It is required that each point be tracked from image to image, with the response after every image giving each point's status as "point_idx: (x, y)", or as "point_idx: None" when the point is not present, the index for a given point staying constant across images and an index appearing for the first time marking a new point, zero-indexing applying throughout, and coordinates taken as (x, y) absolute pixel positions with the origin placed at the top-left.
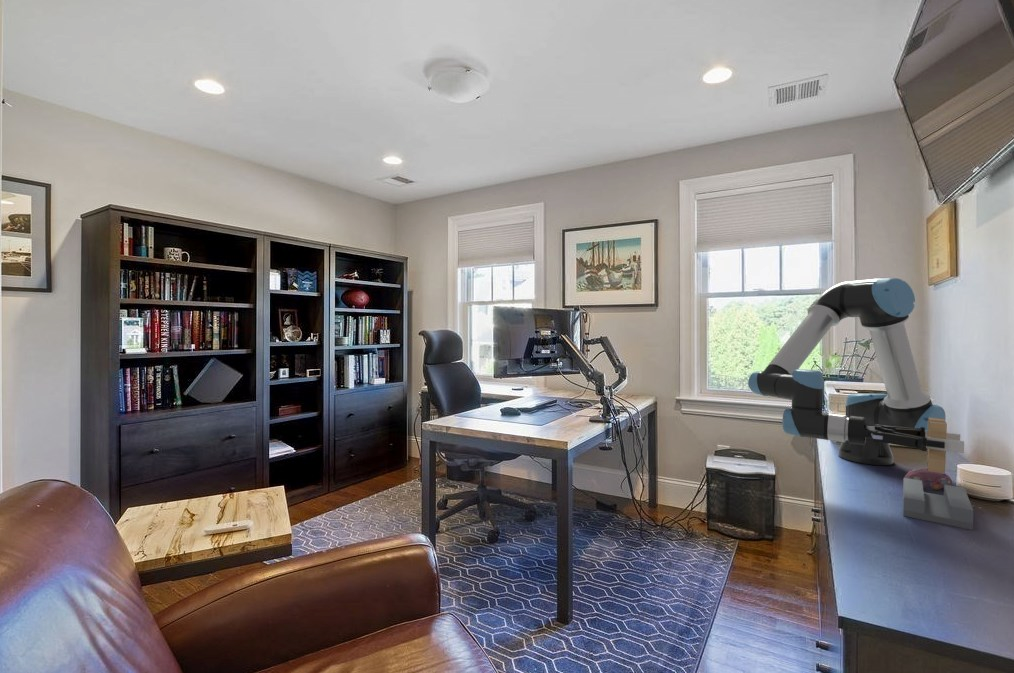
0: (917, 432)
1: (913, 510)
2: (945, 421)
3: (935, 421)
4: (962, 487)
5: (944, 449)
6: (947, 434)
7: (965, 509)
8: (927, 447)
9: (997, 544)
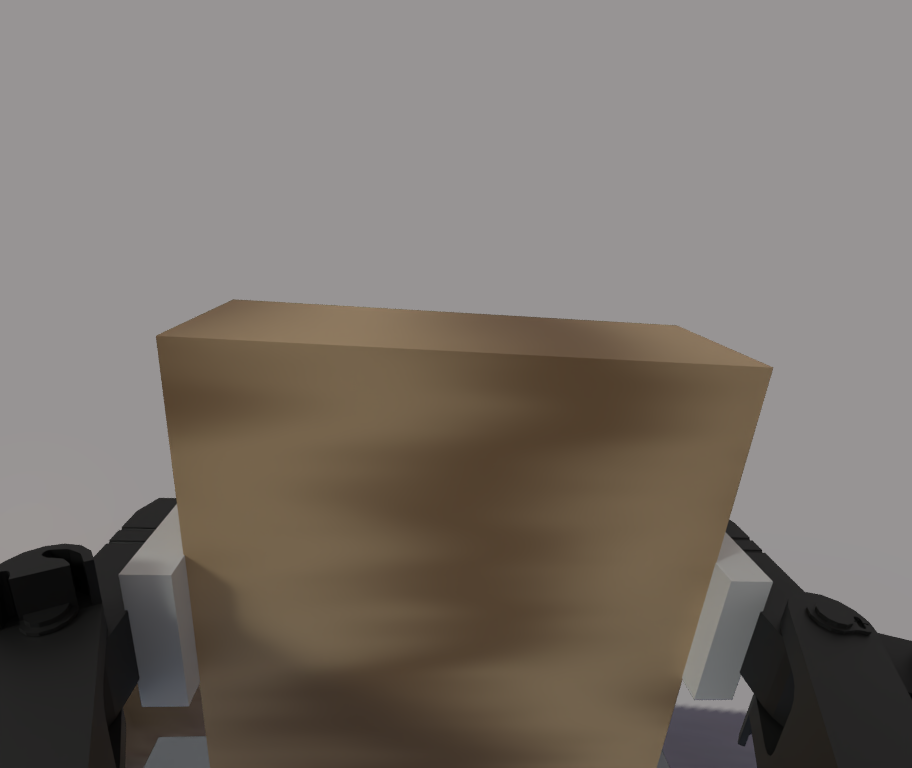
0: (103, 707)
1: None
2: (464, 313)
3: (585, 341)
4: (155, 746)
5: None
6: None
7: (666, 762)
8: (730, 685)
9: (721, 729)
